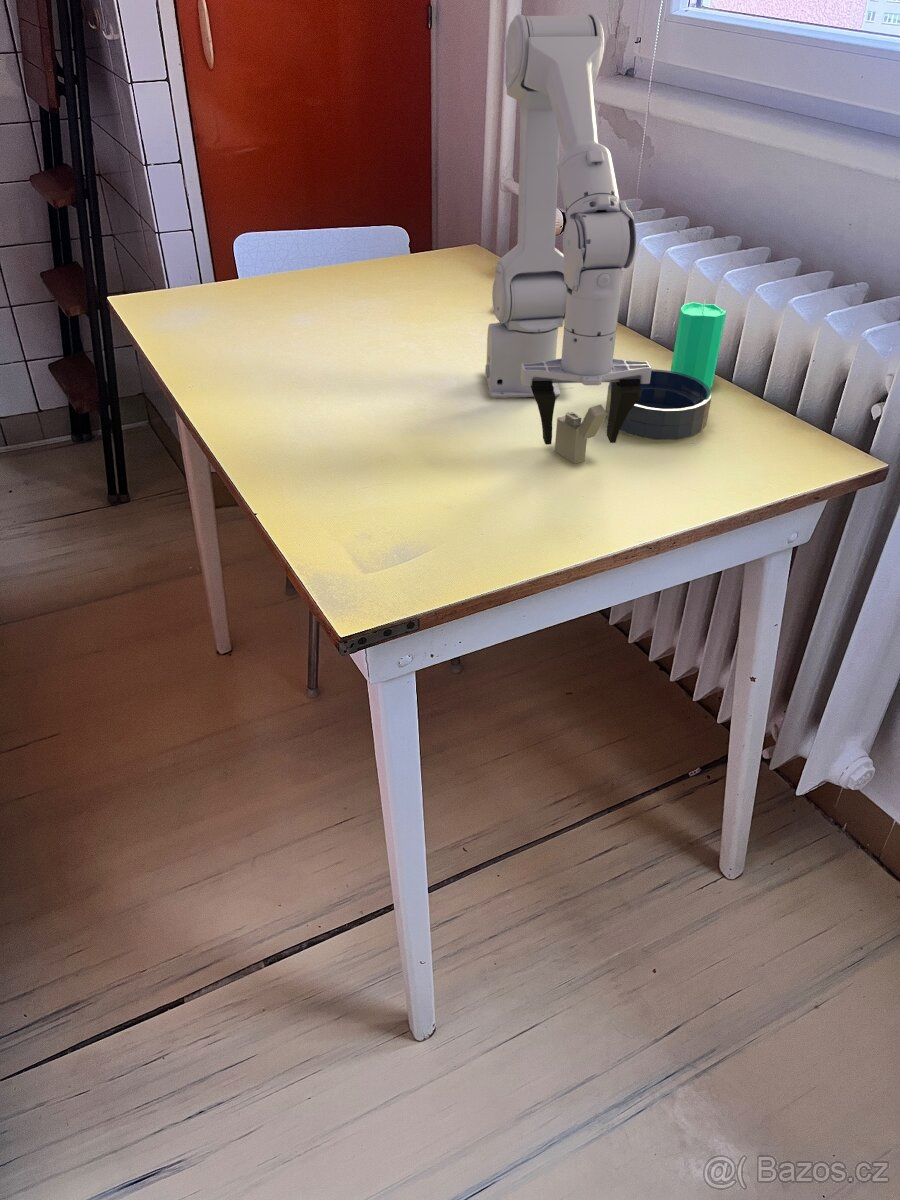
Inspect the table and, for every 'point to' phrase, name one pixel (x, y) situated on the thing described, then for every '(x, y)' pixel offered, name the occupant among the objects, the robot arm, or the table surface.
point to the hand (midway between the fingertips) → (579, 440)
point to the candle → (698, 341)
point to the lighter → (577, 433)
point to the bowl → (667, 407)
